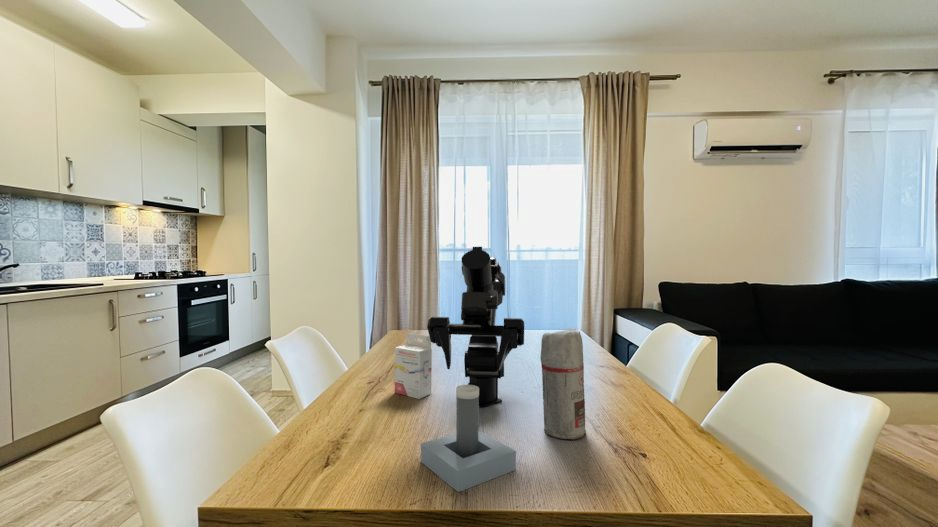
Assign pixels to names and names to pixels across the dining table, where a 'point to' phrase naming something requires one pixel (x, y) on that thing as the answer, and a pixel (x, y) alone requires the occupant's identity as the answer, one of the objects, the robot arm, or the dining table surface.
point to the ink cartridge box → (413, 367)
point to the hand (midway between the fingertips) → (473, 369)
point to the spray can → (563, 384)
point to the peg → (467, 420)
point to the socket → (467, 461)
